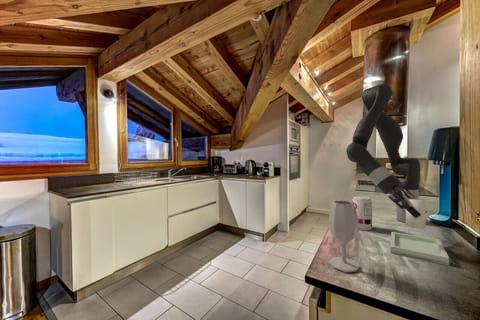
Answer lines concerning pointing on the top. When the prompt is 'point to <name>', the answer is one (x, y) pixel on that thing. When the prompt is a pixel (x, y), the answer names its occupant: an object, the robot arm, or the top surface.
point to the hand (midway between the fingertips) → (421, 215)
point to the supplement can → (363, 212)
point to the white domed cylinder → (421, 208)
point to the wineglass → (343, 232)
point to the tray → (419, 248)
